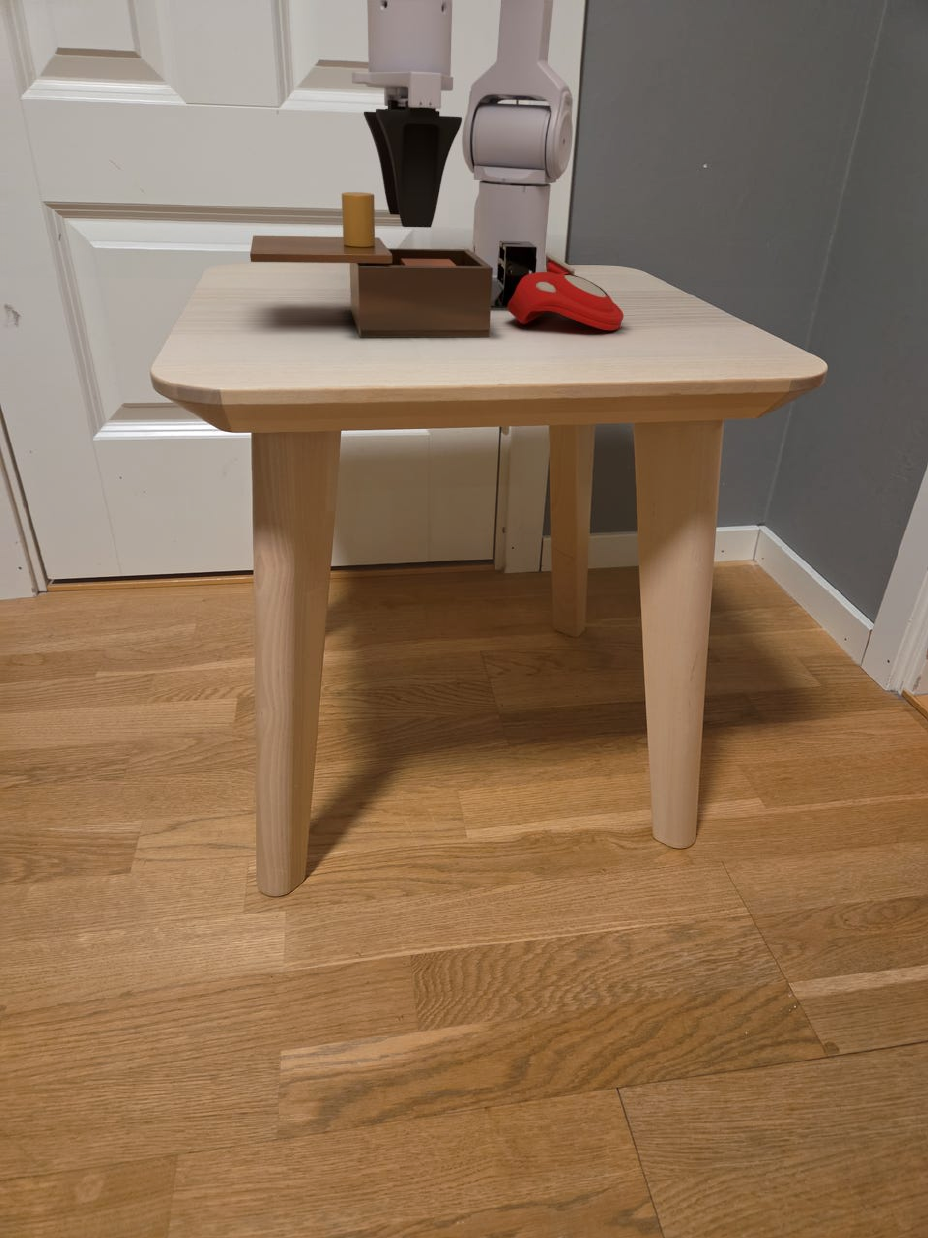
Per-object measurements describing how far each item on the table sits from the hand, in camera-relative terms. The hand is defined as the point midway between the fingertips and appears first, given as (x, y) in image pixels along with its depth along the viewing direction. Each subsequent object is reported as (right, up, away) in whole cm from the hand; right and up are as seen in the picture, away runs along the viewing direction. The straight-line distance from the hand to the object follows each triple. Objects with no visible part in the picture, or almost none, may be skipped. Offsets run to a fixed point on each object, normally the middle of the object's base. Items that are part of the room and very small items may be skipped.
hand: (409, 220), depth 62 cm
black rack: (+9, 0, +16) cm, 18 cm away
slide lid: (-7, -2, 0) cm, 7 cm away
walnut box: (0, -6, +4) cm, 8 cm away
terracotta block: (+1, -6, +4) cm, 7 cm away
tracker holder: (+13, -5, +8) cm, 16 cm away
